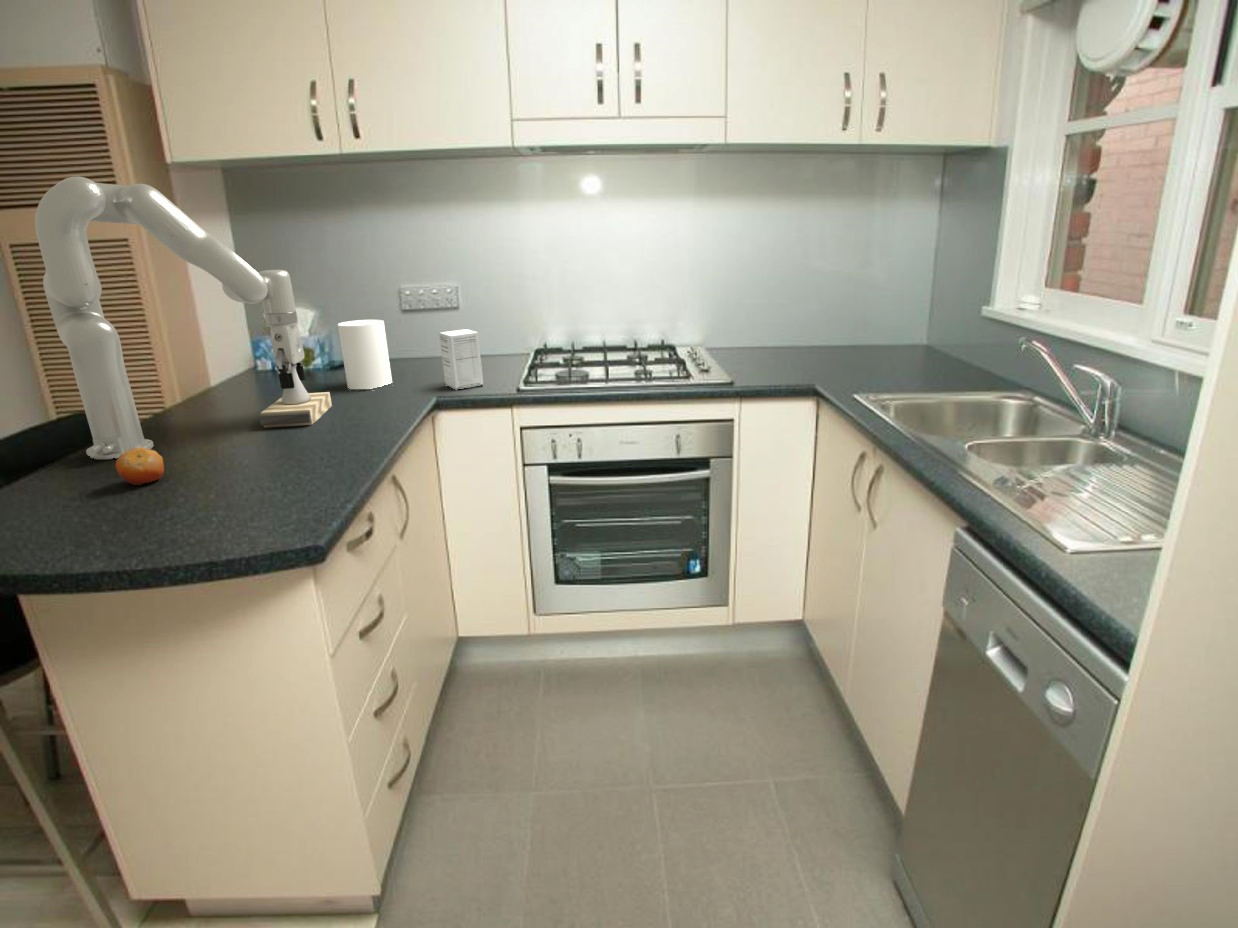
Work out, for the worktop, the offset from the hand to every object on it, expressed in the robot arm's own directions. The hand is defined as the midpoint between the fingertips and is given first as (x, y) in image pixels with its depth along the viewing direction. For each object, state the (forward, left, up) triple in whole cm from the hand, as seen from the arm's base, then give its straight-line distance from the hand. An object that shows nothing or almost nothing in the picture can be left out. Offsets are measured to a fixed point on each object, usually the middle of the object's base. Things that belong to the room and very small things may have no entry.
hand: (293, 384), depth 189 cm
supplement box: (+26, -42, -9) cm, 50 cm away
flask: (0, 0, -5) cm, 5 cm away
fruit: (-48, +17, -9) cm, 52 cm away
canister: (+34, -12, -9) cm, 37 cm away
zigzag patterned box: (0, 0, -9) cm, 9 cm away
